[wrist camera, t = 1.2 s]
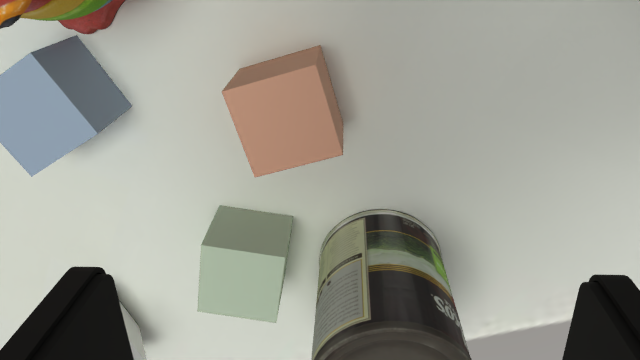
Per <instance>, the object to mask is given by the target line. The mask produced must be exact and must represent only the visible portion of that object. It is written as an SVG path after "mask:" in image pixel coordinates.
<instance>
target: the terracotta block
mask: <svg viewBox="0 0 640 360" xmlns="http://www.w3.org/2000/svg"><path fill="white" fill-rule="evenodd" d="M222 94H223V96H224V99H225V101H226V104H227V107H228V109H229V112H230V114H231V117H232V120H233V122H234V125H235V127H236V130H237V133H238V135H239V138H240V140H241V143H242V145H243V148H244V151H245V153H246V156H247V158H248V161H249V164H250V166H251V169H252V171H253V174H254V177H258V176H262V175H266V174H270V173H274V172H278V171H282V170H286V169H290V168H294V167H297V166H301V165H305V164H309V163H313V162H317V161H321V160H325V159H329V158H333V157H336V156H340V155H343V121H342V118H341V115H340V111H339V108H338V104H337V101H336V97H335V94H334V91H333V87H332V84H331V80H330V77H329V74H328V70H327V67H326V63H325V60H324V56H323V53H322V50H321V46H320V45H319V46H316V47H312V48H309V49H306V50H302V51H299V52H295V53H292V54H289V55H285V56H282V57H278V58H275V59H272V60H268V61H265V62H261V63H258V64H255V65H251V66H248V67H244V68H241V69H239V70H238V72H237V73H236V74H235V76H234V77H233V78H232V79H231V81H230V82H229V83H228V84H227V86H226V87H225V88H224V89H223V91H222Z"/></svg>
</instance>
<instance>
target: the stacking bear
mask: <svg viewBox="0 0 640 360" xmlns="http://www.w3.org/2000/svg"><path fill="white" fill-rule="evenodd" d="M124 1H125V0H0V29H1V28H4V27H9V26H11V25H13V24H14V23H15V22H16V21H17V20H19V18H28V19H35V20H46V21H54V20H58V21H59V22H60V23H61V24H62V25H63V26H64V27H66V28H68V29H74V30H76V31H78V32H80V33H83V34H92V33H94V32H95V31H96V30H97V29H101V30H102V29H105V28H107V27H108V26H109V25H110V24H111V22H112V21H113V18H114V16H115V14H116V12H117V10H118V8H119V7H120V6H121V4H122V3H123V2H124Z"/></svg>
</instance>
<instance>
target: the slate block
mask: <svg viewBox="0 0 640 360" xmlns="http://www.w3.org/2000/svg"><path fill="white" fill-rule="evenodd" d="M131 106H132V105H131V104H130V103H129V101H128V100H127V99H126V98H125V96H124V95H123V94H122V92H121V91H120V90H119V89H118V87H117V86H116V85H115V84H114V82H113V81H112V80H111V78H110V77H109V76H108V75H107V73H106V72H105V71H104V70H103V68H102V67H101V66H100V64H99V63H98V62H97V61H96V59H95V58H94V57H93V55H92V54H91V53H90V52H89V50H88V49H87V48H86V47H85V45H84V44H83V43H82V41H81V40H80V39H79V38H78V36H77V35H76V36H74V37H71V38H68V39H66V40H63V41H60V42H58V43H55V44H52V45H50V46H47V47H45V48H42V49H39V50H37V51H34V52H31V53H30V54H28V55H27V56H25V57H24V58H23V59H21V60H20V61H19V62H17V63H16V64H15V65H13V66H12V67H11V68H9V69H8V70H7V71H5V72H4V73H2V74H1V75H0V143H1V144H2V145H3V146H4V147H5V148H6V149H7V150H8V152H9V153H10V154H11V155H12V156H13V157H14V158H15V159H16V160H17V161H18V162H19V163H20V165H21V166H22V167H23V168H24V169H25V170H26V171H27V172H28V173H29V174H30V175H31V177H32V176H33V175H35V174H37V173H38V172H40V171H41V170H43V169H44V168H46V167H47V166H49V165H50V164H52V163H53V162H55V161H56V160H58V159H60V158H61V157H63V156H64V155H66V154H67V153H69V152H70V151H72V150H73V149H75V148H76V147H78V146H80V145H81V144H83V143H84V142H86V141H87V140H89V139H90V138H92V137H93V136H95V135H96V134H98V133H99V132H100V131H102V130H103V129H104V128H105V127H107V126H108V125H109V124H110V123H112V122H113V121H114V120H115V119H117V118H118V117H119V116H120V115H121V114H123V113H124V112H125V111H126V110H128V109H129V108H130V107H131Z"/></svg>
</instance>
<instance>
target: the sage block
mask: <svg viewBox="0 0 640 360" xmlns="http://www.w3.org/2000/svg"><path fill="white" fill-rule="evenodd" d="M292 221H293V216H287V215H281V214H274V213H267V212H261V211H254V210H247V209H241V208H234V207H227V206H221V205H220V206H219V208H218V210H217V212H216V214H215V216H214V219H213V221H212V223H211V225H210V227H209V229H208V231H207V234H206V236H205V238H204V240H203V242H202V244H201V256H200V275H199V293H198V312H204V313H211V314H218V315H225V316H232V317H239V318H245V319H252V320H259V321H266V322H273V323H276V321H277V315H278V310H279V304H280V299H281V293H282V288H283V282H284V277H285V270H286V263H287V256H288V249H289V242H290V235H291V228H292Z"/></svg>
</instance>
